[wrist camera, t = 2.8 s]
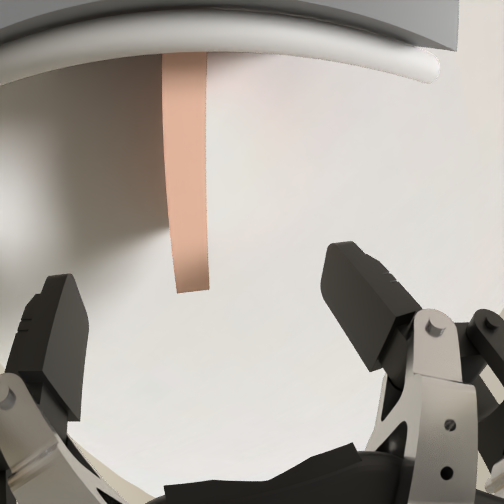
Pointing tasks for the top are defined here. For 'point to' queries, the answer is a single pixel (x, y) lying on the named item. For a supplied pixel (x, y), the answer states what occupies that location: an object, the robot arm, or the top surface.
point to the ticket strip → (186, 165)
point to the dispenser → (227, 31)
